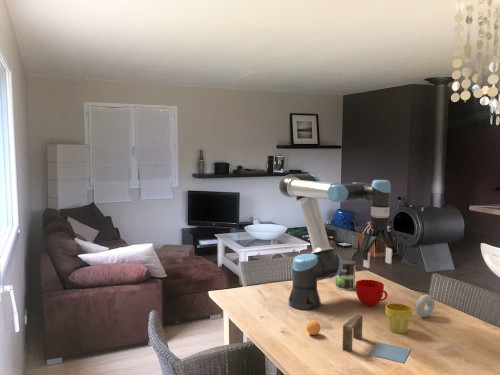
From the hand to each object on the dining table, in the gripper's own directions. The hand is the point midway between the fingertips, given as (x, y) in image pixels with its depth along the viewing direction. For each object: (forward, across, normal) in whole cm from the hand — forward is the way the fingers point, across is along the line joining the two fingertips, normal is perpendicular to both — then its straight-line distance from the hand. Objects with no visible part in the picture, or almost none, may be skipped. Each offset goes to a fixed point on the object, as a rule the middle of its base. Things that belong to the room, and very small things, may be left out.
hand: (377, 265), depth 189 cm
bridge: (+24, -26, -13) cm, 38 cm away
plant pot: (+24, -1, -13) cm, 27 cm away
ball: (+21, -34, +2) cm, 40 cm away
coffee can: (+25, +21, +40) cm, 52 cm away
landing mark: (+24, -20, -25) cm, 40 cm away
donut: (+24, +21, -10) cm, 33 cm away
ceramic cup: (+25, +12, +13) cm, 30 cm away
